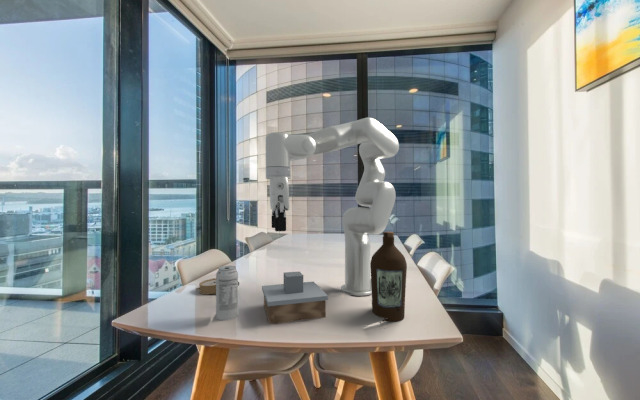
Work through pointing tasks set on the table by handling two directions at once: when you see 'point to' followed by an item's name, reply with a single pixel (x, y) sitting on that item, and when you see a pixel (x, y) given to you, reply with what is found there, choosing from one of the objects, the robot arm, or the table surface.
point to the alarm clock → (208, 286)
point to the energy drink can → (226, 293)
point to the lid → (293, 291)
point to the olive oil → (388, 280)
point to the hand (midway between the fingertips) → (278, 229)
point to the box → (295, 311)
